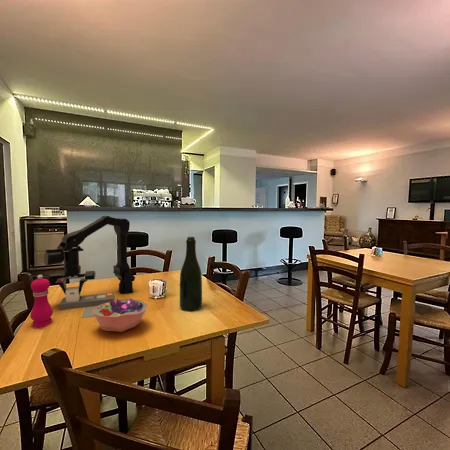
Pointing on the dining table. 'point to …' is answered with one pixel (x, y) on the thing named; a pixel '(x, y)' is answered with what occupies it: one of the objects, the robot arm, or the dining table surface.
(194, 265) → the dark green wine bottle
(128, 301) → the cell model
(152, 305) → the dining table surface
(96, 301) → the power strip
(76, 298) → the block
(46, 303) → the pepper mill
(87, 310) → the mat
